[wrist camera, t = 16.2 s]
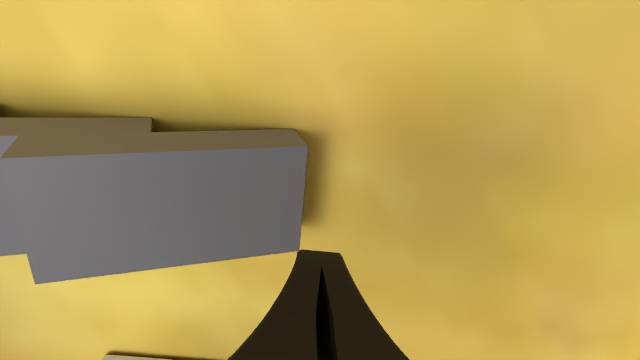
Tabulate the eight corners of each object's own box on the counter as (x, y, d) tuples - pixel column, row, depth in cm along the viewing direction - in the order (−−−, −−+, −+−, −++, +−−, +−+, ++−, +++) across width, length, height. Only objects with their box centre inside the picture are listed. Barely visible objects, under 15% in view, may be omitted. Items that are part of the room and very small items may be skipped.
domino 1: (159, 241, 18) (-140, 268, 15) (160, 217, 19) (-108, 237, 16) (150, 134, 16) (-204, 138, 12) (152, 117, 17) (-160, 117, 14)
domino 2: (299, 250, 18) (35, 284, 15) (287, 226, 20) (48, 251, 16) (308, 146, 16) (-1, 158, 12) (294, 128, 17) (19, 135, 14)
